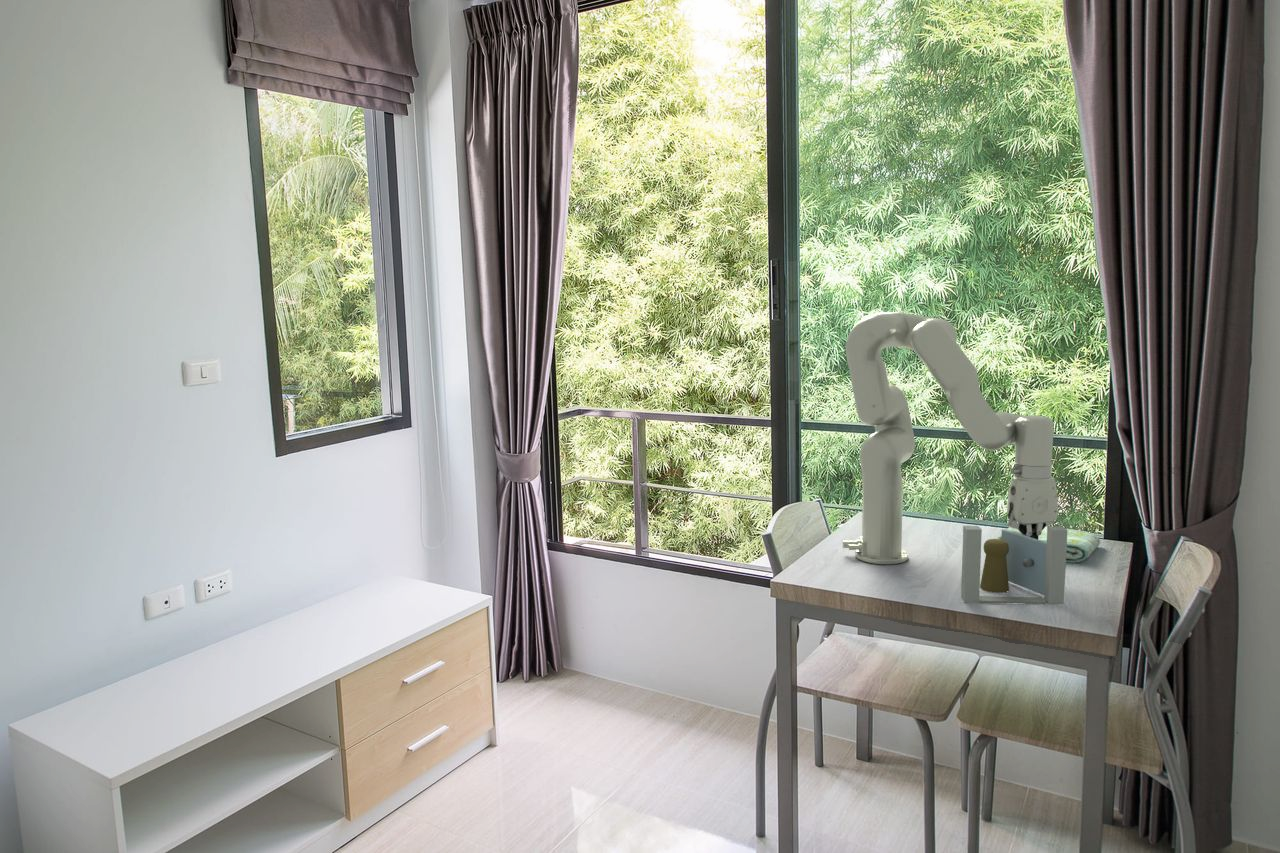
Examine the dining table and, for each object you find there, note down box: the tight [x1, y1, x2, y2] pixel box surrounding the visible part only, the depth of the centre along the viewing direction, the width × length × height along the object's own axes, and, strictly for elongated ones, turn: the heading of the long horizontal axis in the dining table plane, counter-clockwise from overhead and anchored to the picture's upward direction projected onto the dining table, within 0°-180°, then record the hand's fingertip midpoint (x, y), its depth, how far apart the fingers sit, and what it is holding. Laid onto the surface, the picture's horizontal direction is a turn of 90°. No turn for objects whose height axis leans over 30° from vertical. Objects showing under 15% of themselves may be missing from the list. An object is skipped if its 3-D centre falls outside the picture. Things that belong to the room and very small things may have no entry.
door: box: [1001, 528, 1047, 596], centre depth 194 cm, size 13×3×11 cm, turn 21°
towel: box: [995, 526, 1101, 564], centre depth 223 cm, size 18×21×5 cm
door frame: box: [960, 525, 1068, 605], centre depth 187 cm, size 20×3×16 cm, turn 83°
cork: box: [980, 538, 1010, 594], centre depth 196 cm, size 6×6×11 cm
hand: (1029, 551), depth 200 cm, fingers closed
